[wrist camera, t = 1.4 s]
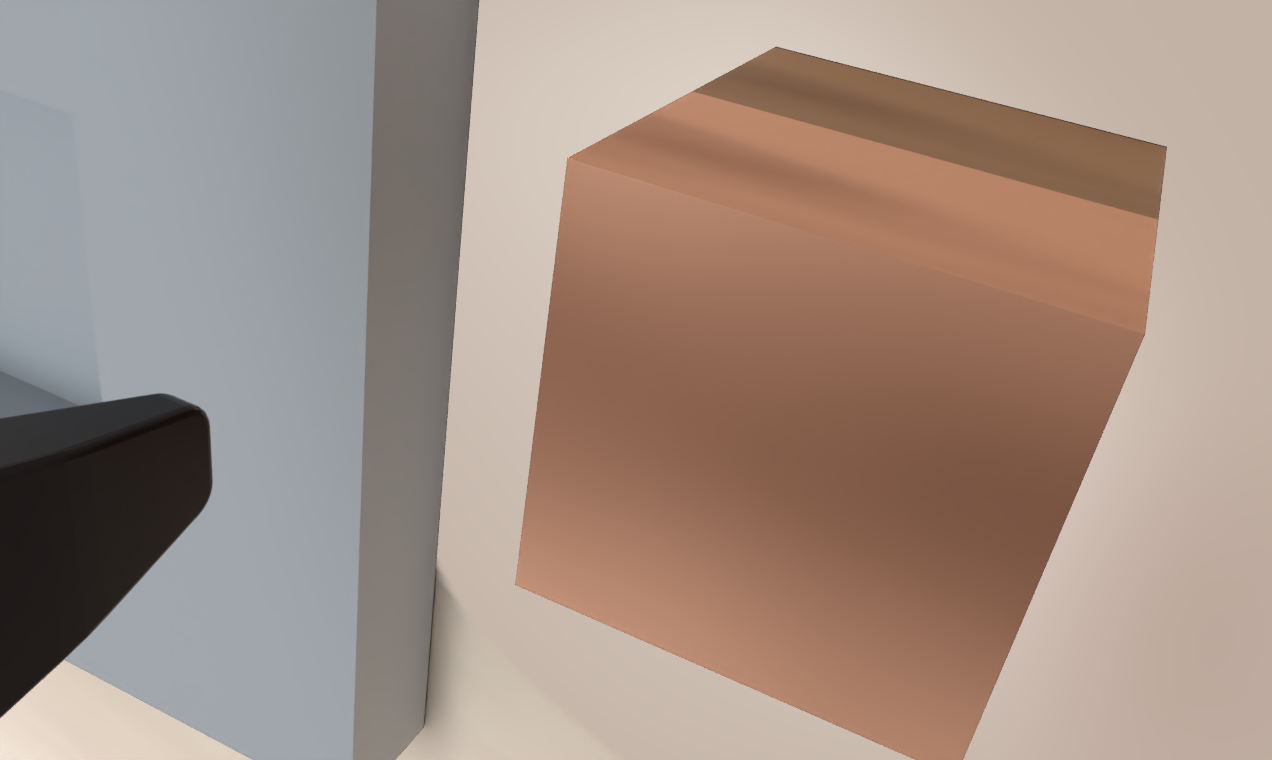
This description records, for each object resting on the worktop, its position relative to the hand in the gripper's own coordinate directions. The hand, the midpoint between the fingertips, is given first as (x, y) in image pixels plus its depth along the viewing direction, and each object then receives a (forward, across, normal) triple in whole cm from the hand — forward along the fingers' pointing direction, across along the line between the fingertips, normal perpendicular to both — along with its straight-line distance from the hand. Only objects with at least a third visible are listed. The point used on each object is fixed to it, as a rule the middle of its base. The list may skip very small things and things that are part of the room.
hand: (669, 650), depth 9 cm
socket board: (+8, +16, +4) cm, 18 cm away
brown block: (+8, 0, 0) cm, 9 cm away
